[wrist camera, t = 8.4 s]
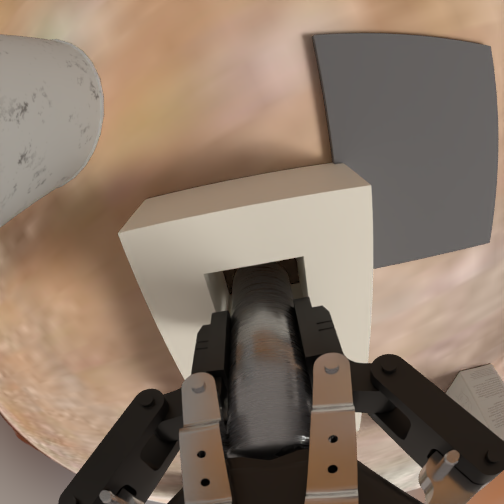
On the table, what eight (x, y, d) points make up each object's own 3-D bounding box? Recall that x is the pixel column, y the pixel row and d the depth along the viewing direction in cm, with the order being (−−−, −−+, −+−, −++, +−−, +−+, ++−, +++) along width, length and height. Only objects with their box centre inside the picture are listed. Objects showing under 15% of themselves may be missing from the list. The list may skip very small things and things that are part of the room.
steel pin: (227, 264, 16) (214, 446, 8) (284, 254, 16) (323, 432, 7) (239, 309, 18) (238, 479, 9) (292, 300, 18) (324, 469, 9)
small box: (462, 404, 30) (491, 468, 21) (429, 413, 30) (456, 484, 21) (492, 361, 26) (532, 430, 17) (459, 369, 26) (499, 448, 17)
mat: (311, 36, 13) (313, 35, 13) (486, 46, 12) (490, 46, 12) (341, 271, 20) (343, 275, 19) (486, 240, 19) (489, 242, 18)
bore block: (145, 199, 17) (117, 233, 13) (341, 161, 16) (371, 185, 12) (227, 409, 26) (226, 450, 22) (347, 390, 26) (359, 430, 22)
